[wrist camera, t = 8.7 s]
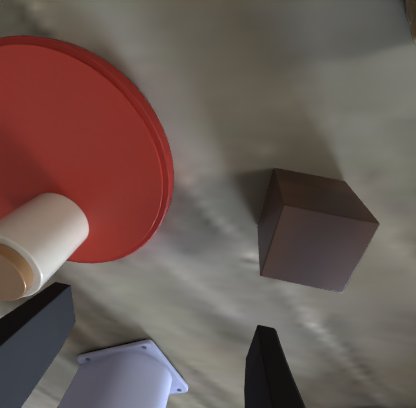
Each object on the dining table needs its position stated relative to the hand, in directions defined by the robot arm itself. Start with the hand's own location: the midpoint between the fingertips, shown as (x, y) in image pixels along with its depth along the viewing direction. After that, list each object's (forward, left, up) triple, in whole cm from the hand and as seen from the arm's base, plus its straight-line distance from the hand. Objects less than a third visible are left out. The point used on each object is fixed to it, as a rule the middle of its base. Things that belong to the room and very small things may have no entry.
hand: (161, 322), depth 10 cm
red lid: (-7, +6, -10) cm, 13 cm away
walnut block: (+6, -2, -10) cm, 11 cm away
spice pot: (-9, +3, -8) cm, 13 cm away
